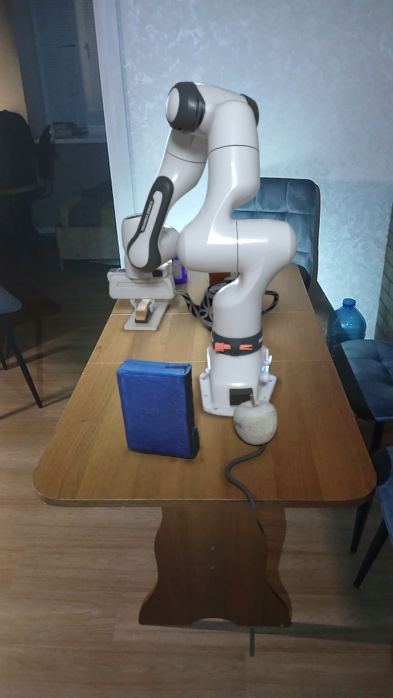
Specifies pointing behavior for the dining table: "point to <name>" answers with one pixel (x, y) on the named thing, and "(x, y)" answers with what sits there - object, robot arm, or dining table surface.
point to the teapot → (206, 305)
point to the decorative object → (255, 421)
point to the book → (158, 407)
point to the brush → (143, 312)
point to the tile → (154, 320)
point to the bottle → (178, 271)
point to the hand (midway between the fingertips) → (144, 311)
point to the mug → (219, 277)
